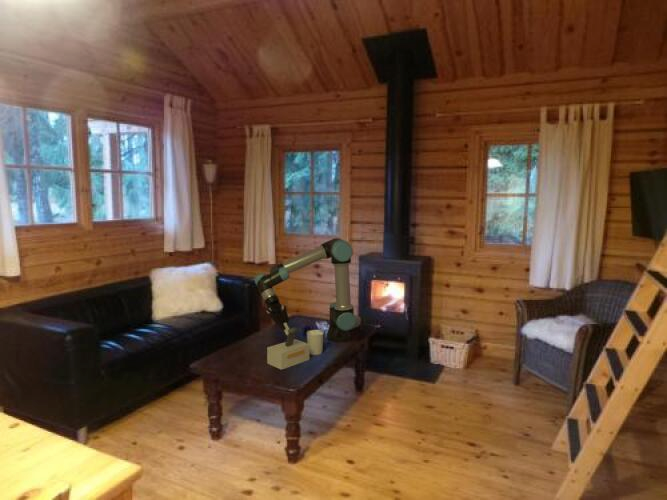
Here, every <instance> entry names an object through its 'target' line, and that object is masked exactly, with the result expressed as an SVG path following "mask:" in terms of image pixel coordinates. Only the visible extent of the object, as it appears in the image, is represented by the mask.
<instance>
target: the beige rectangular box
mask: <svg viewBox="0 0 667 500" xmlns="http://www.w3.org/2000/svg"><path fill="white" fill-rule="evenodd" d="M285 343H286V341H284V342H281V343H277V344H275V345H271V346H268V347H266V350H267V351H266V353H267V354H266V356H267V357H266V363H267V364H268V365H270V366H272V367H275V368H277V369H279V370H284V369H288V368H290V367H293V366H296V365H298V364H302V363H304V362H306V361H309V360H310V354H309V344H307V342H304V341H302V340H298V339H296V338H294V341H293V344H292V345H290V346H286V345H285Z"/></svg>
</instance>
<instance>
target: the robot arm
mask: <svg viewBox="0 0 667 500" xmlns="http://www.w3.org/2000/svg"><path fill="white" fill-rule="evenodd" d="M352 256H353V247H352V245H351V244H350V243H349V242H348V241H346V240H344V239H342V238H338V237H335V238H332V239H329V240H328V241H325V242H323V243H321V244H320V245H319V246H318V247H316V248H313V249H311V250H308V251H306V252H304V253H302V254H300V255H297V256H295V257H292V258H290V259H288V260H286V261H283V262H281V263H278V264H274V265H271V266H270V267H269V273H268V274H266V273H264V272H263V273H258V274H257V275H256V276H255V277H254V278H253V279H254V280H253V281H254V283H255V286H256V287H257V290H258V291H259V295H261V297H262V299H263V301H264V303H265V305H266V307H267V310H266V312H265V313H266V314H268V316H269V317H270V318H271V319H272V320H273V323H275V324H276V326H279V327H281V328H282V330H283V331H284V334H285V335H286V336H287V337H288V333H289V332H288V330H289V329H290V326H289V324H288V322H289V321H290V318H289V316H288V312H287V311H288V310H287V306H286V305H284V306H283V305H282V304H281V303H280V300H279V297H278V296H277V293H276V292H275V290H274V288H273V287H275V286H277V285H279V284H281V283H283V282H286V281H287V280H288V279H289V278H290V274H291V273H293V272H295V271H297V270H300V269H302V268H304V267H307V266H309V265H313V263H317V262H319V261H321V260H323V259H325V260H328V259H331V264H332V265H333V267H334V281H335V282H334V284H335V285H334V286H335V298H336V299H335V300H336V301H335V302H331V303H330V304H329V326H328V330H327V333H326V339H327V340H328V341H331V342H335V343H338V342H339V343H340V342H341V343H342V342H347V341H349V340H350V339H351V333H350V331H351V330H353V329H352V328H353V327H354V326H355V324H356V317H355V316H356V315H355V313H354V310H355V309H354V305H353V304H352V303H351V302H352V301H351V282H350V280H351V279H350V264H351V263H352Z"/></svg>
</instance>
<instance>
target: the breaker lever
mask: <svg viewBox="0 0 667 500" xmlns="http://www.w3.org/2000/svg"><path fill="white" fill-rule="evenodd" d="M298 331H299V327H298V326H294V327H292V328H289V330H288V332H289V333H288V336H287V337H286V341H285V342H286V343H285V345H286V346H290V345H292V344H293V341H294V339H296V338H295V337H296V335H297V332H298Z"/></svg>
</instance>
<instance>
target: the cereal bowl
mask: <svg viewBox="0 0 667 500" xmlns="http://www.w3.org/2000/svg"><path fill="white" fill-rule="evenodd" d="M355 317H356V324H355V326H354V327H353V328H352V329H351V330H354V329H355V328H357V327H358V326H360V325H361V322H362V320H361V319H362V318H361V317H360V316H358V315H355Z"/></svg>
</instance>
